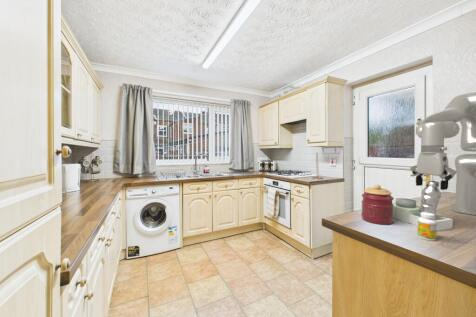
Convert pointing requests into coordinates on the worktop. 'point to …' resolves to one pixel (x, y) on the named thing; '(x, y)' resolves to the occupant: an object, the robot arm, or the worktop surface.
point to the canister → (377, 205)
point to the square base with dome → (409, 211)
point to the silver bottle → (430, 198)
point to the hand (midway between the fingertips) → (430, 187)
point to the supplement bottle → (427, 226)
